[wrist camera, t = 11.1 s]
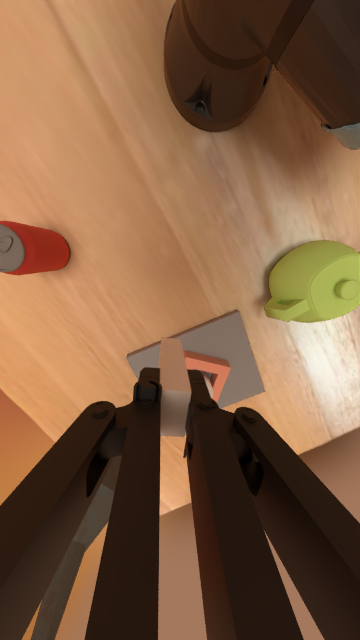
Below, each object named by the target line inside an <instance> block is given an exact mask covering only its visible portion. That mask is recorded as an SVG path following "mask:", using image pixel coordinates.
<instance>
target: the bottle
mask: <svg viewBox="0 0 360 640" xmlns="http://www.w3.org/2000/svg"><path fill="white" fill-rule="evenodd" d="M121 458H122V455H120V456H117V457H114V458H113V461H112V463H111V465H110V467H109V469H108V471H107V473H106V475H105V477H104V479H103V481H102V483H101V485H100V487H99V489H98V491H97V493H96V495H95V497H94V499H93V501H92V503H91V504H90V506H89V508H88V510H87V512H86V514H85V516H84V518H83V520H82V522H81V524H80V526H79V528H78V530H77V532H76V534H75V536H74V538H73V540H72V542H71V544H70V546H69V548H68V550H67V551H66V553H65V555H64V557H63V559H62V561H61V563H60V565H59V567H58V569H57V571H56V573H55V575H54V577H53V579H52V581H51V583H50V585H49V587H48V589H47V591H46V593H45V595H44V597H43V598H42V602H41V605H40V609H39V612H38V616H37V620H36V623H35V627H34V630H33V634H32V637H31V640H55V637H56V634H57V631H58V628H59V625H60V622H61V619H62V617H63V614H64V611H65V608H66V605H67V602H68V599H69V596H70V593H71V590H72V587H73V584H74V581H75V579H76V576H77V573H78V569H79V567H80V564H81V561H82V558H83V555H84V552H85V551H86V550H87V548H88V547H89V546H90V545H91V543H92V542H93V541H94V539H95V538H96V537H97V535H98V534H99V533H100V532H101V530H102V529H103V528H104V526H105V525H106V524H107V523H108V521H109V517H110V512H111V507H112V502H113V497H114V492H115V487H116V482H117V478H118V473H119V468H120V463H121Z"/></svg>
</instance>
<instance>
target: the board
mask: <svg viewBox="0 0 360 640" xmlns="http://www.w3.org/2000/svg"><path fill="white" fill-rule="evenodd" d="M169 338H172V339H181V344H182V348H183V353H184V350H186V351H190V352H194V353H199V354H203V355H207V356H211V357H215V358H219V359H224V360H227V362H228V363H229V365H230V367H231V369H230V372H229V374H228V377H227V379H226V382H225V384H224V387H223V389H222V391H221V394H220V396H219V399H218V401H217V404H218V406H219V408H220V409H221V408H224V407H226V406H229V405H231V404H234V403H236V402H239V401H242V400H244V399H247V398H249V397H252V396H254V395H257V394H260V393H262V392H265V389H264V386H263V383H262V380H261V377H260V374H259V371H258V368H257V365H256V361H255V358H254V355H253V352H252V349H251V346H250V343H249V340H248V337H247V334H246V331H245V328H244V325H243V322H242V318H241V315H240V312H239V311H238V310H234V311H232V312H230V313H227V314H225V315H222V316H220V317H217V318H215V319H213V320H210V321H208V322H205V323H203V324H200V325H198V326H195V327H193V328H191V329H188V330H186V331H183V332H181V333H178V334H176V335H173V336H171V337H169ZM160 347H161V341H159V342H156V343H154V344H152V345H149V346H147V347H144V348H142V349H139V350H137V351H134V352H132V353H130V354H127V357H126V359H127V360H128V362H129V364H130V366H131V368H132V369H133V371H134V373H135V375H136V377H137V378H138V380H139V375H140V371H141V370H142V369H143V368H144V367H151V368H158V367H159V357H160ZM193 370H197V369H193ZM199 371H200V372H201V373H202V374H203V376H204V379H205V382H206V385H207V387H208V390H209V393H210V396H211V398H212V397H213V395H214V391H213V388H212V386H211V383H210V377H211V374H212V373H210V372H206V371H202V370H199Z"/></svg>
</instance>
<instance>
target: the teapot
mask: <svg viewBox="0 0 360 640" xmlns="http://www.w3.org/2000/svg"><path fill="white" fill-rule="evenodd" d="M269 289H270V293H271V296H272V298H271V299H270V300H269V301H268V303H267V304H266V305H265V306H264V310H265V312H266V315H267V317H270V318H275V319H279V320H284V321H288V322H289V321H291V320H293V321H297V322H305V323H311V322H320V321H325V320H330V319H334V318H337V317H340V316H342V315H345V314H347V313H349V312H350V311H352V310H354V309H355V308H356V307H358V306H359V305H360V252H357V251H355V250H354V249H353V248H351V247H349V246H347V245H345V244H343V243H340V242H336V241H329V240H322V241H313V242H309V243H306V244H303V245H301V246H299V247H297V248H295V249H293V250H292V251H290V252H289V253H288V254H286V255H285V256H284V257H283V258H282V259H281V260H280V261H279V262H278V263H277V264H276V265H275V267H274V268H273V270H272V271H271V273H270V277H269Z"/></svg>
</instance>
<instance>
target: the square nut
mask: <svg viewBox="0 0 360 640" xmlns="http://www.w3.org/2000/svg"><path fill="white" fill-rule="evenodd" d="M184 358H185V363H186V368H187V369H190V370H193V369H197V370H202V371H206V372H210V373H212V374H211V377H210V383H211V386H212V388H213V391H214V395H213V397H212V399H213V400H214V401H216V402H217V401H218V399H219V396H220V394H221V391H222V389H223V387H224V384H225V382H226V379H227V377H228V374H229V372H230V369H231V367H230V365H229V363H228V362H227V360H224V359H219V358H215V357H211V356H207V355H203V354H199V353H194V352H190V351H186V350H184Z"/></svg>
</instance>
